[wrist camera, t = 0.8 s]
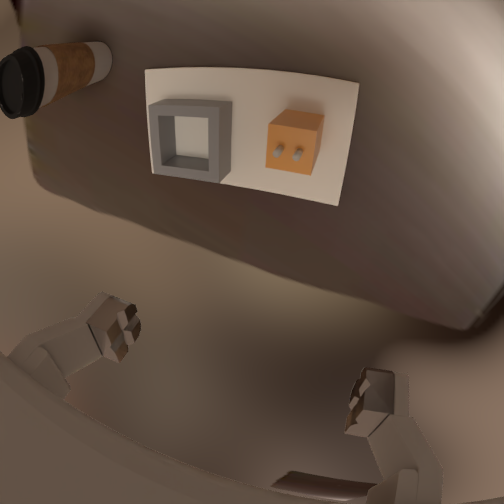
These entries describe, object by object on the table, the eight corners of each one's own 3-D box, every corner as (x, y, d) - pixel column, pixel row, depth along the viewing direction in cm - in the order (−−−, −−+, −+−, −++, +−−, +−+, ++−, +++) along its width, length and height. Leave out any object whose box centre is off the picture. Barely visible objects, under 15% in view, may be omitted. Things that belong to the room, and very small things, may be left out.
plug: (285, 109, 29) (263, 128, 23) (324, 115, 28) (314, 136, 22) (282, 144, 32) (260, 174, 25) (319, 151, 31) (307, 183, 24)
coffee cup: (111, 97, 35) (23, 134, 23) (72, 80, 34) (-11, 112, 23) (127, 40, 29) (29, 58, 18) (85, 28, 29) (-6, 46, 17)
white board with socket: (149, 68, 31) (126, 73, 28) (359, 82, 26) (360, 86, 23) (156, 170, 40) (137, 184, 36) (338, 202, 35) (335, 221, 31)
